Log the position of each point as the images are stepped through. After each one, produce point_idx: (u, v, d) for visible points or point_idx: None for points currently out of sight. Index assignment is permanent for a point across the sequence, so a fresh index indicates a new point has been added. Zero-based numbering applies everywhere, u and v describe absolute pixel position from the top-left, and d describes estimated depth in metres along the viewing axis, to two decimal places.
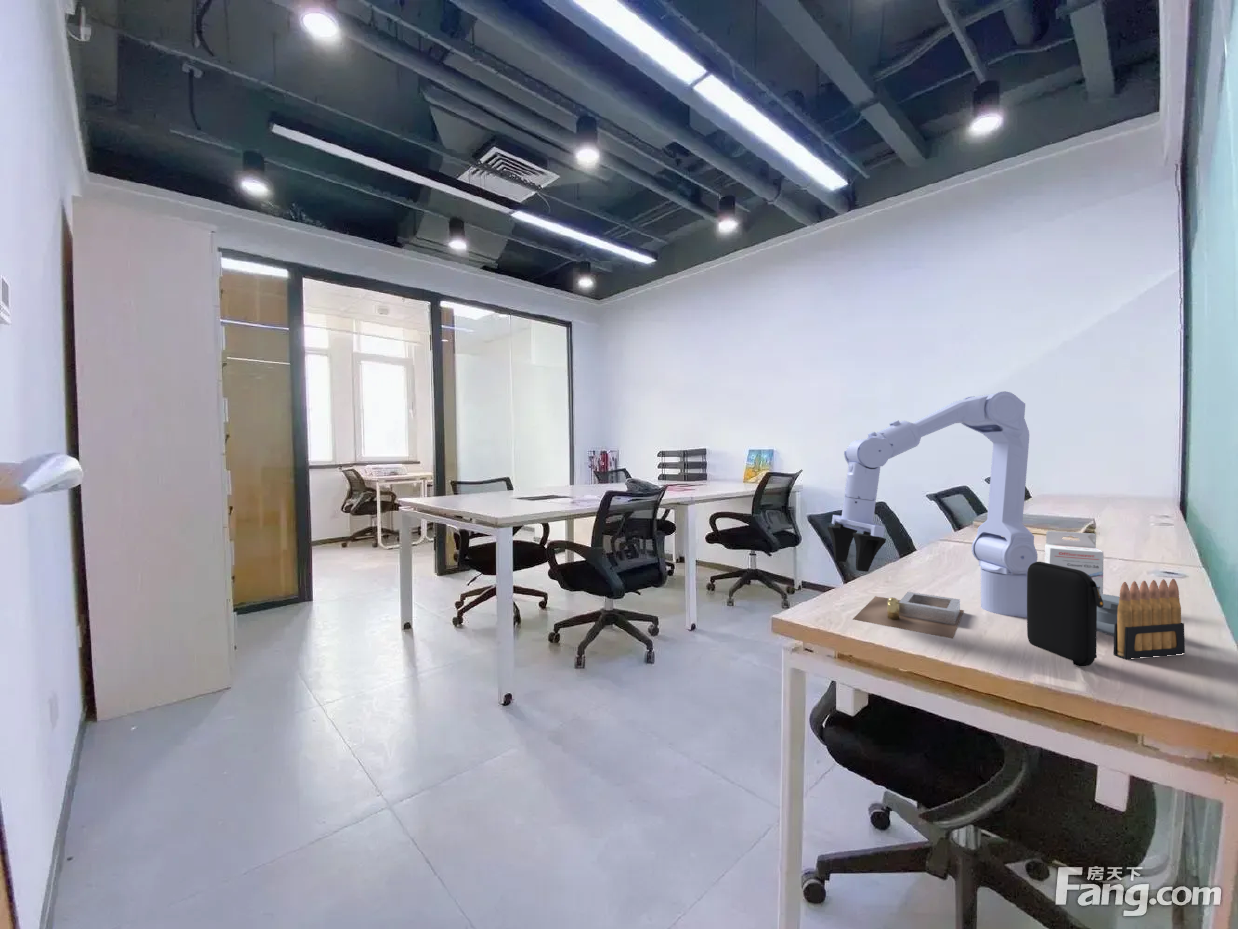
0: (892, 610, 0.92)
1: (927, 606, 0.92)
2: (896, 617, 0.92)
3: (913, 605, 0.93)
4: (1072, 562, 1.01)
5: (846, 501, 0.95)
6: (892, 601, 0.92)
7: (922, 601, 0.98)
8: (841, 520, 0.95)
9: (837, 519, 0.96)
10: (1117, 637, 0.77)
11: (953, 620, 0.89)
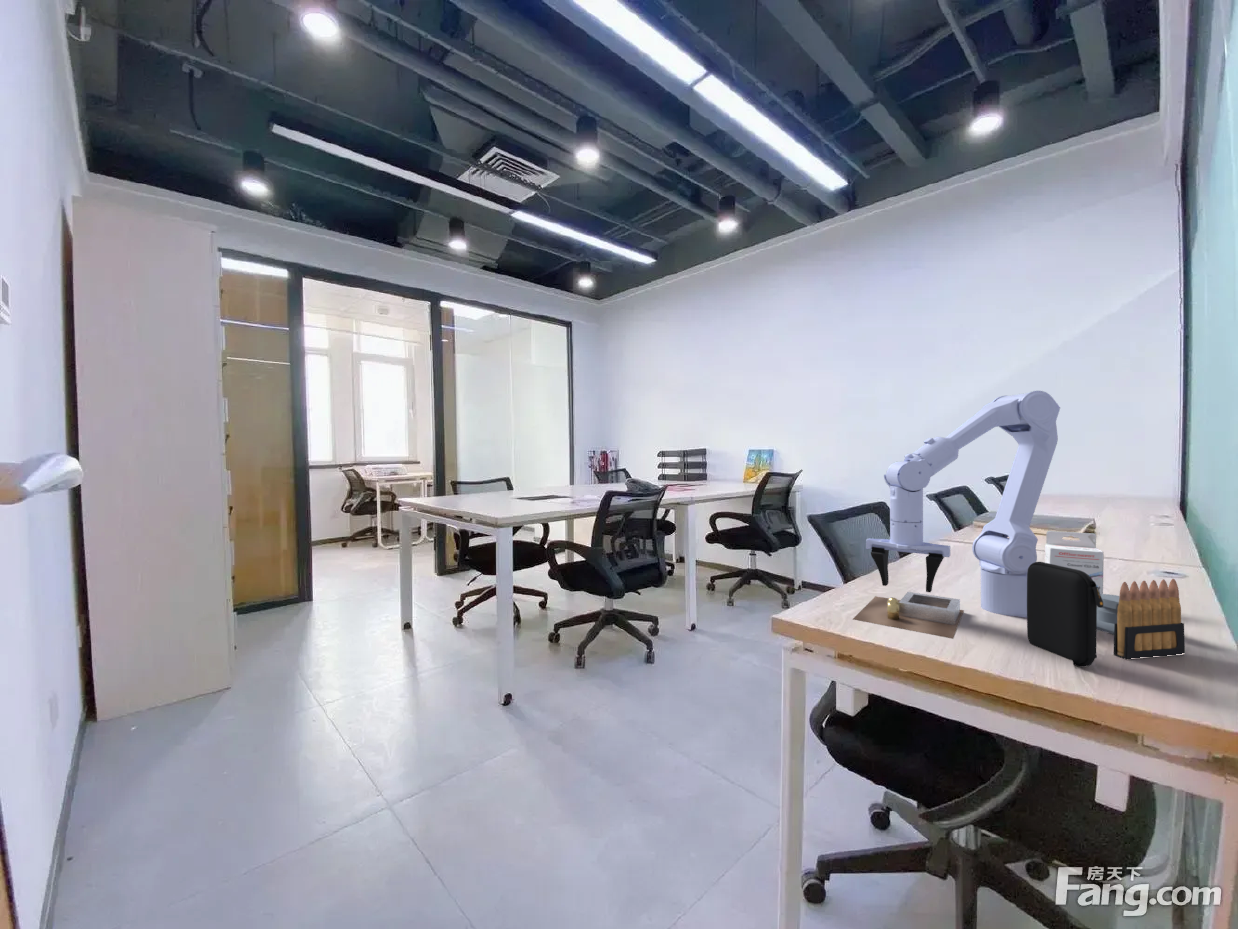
0: (892, 610, 0.92)
1: (927, 606, 0.92)
2: (896, 617, 0.92)
3: (913, 605, 0.93)
4: (1072, 562, 1.01)
5: (904, 527, 0.95)
6: (892, 601, 0.92)
7: (922, 601, 0.98)
8: (908, 547, 0.94)
9: (901, 546, 0.94)
10: (1117, 637, 0.77)
11: (953, 620, 0.89)
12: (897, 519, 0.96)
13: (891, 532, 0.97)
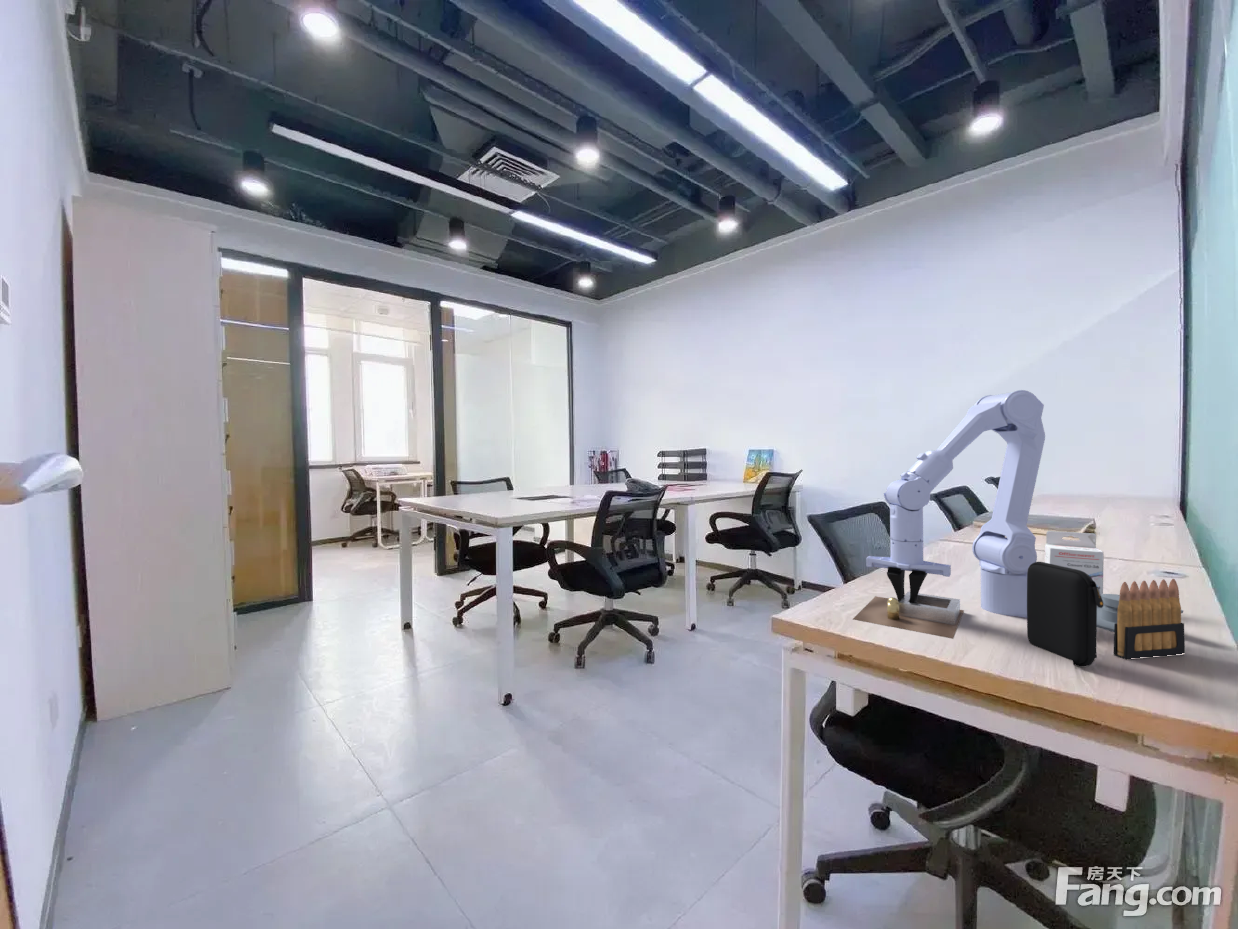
0: (892, 610, 0.92)
1: (927, 606, 0.92)
2: (896, 617, 0.92)
3: (913, 605, 0.93)
4: (1072, 562, 1.01)
5: (905, 546, 0.95)
6: (892, 601, 0.92)
7: (922, 601, 0.98)
8: (908, 566, 0.94)
9: (902, 566, 0.94)
10: (1117, 637, 0.77)
11: (953, 620, 0.89)
12: (897, 538, 0.96)
13: (891, 551, 0.97)
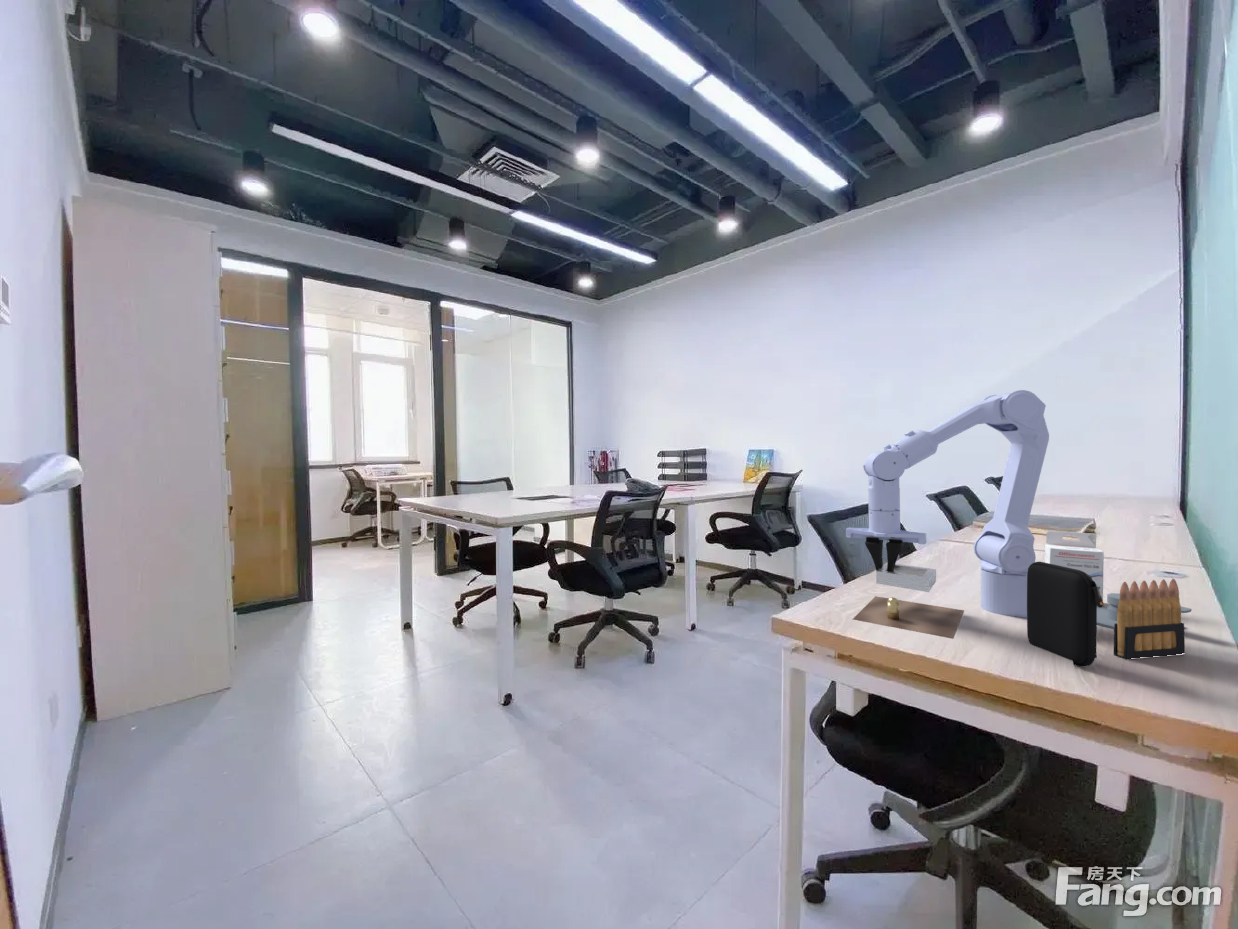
0: (892, 610, 0.92)
1: (903, 574, 0.94)
2: (896, 617, 0.92)
3: (890, 573, 0.95)
4: (1072, 562, 1.01)
5: (882, 515, 0.97)
6: (892, 601, 0.92)
7: (900, 571, 1.01)
8: (885, 535, 0.96)
9: (879, 534, 0.97)
10: (1117, 637, 0.77)
11: (927, 587, 0.91)
12: (873, 508, 0.98)
13: (869, 521, 1.00)
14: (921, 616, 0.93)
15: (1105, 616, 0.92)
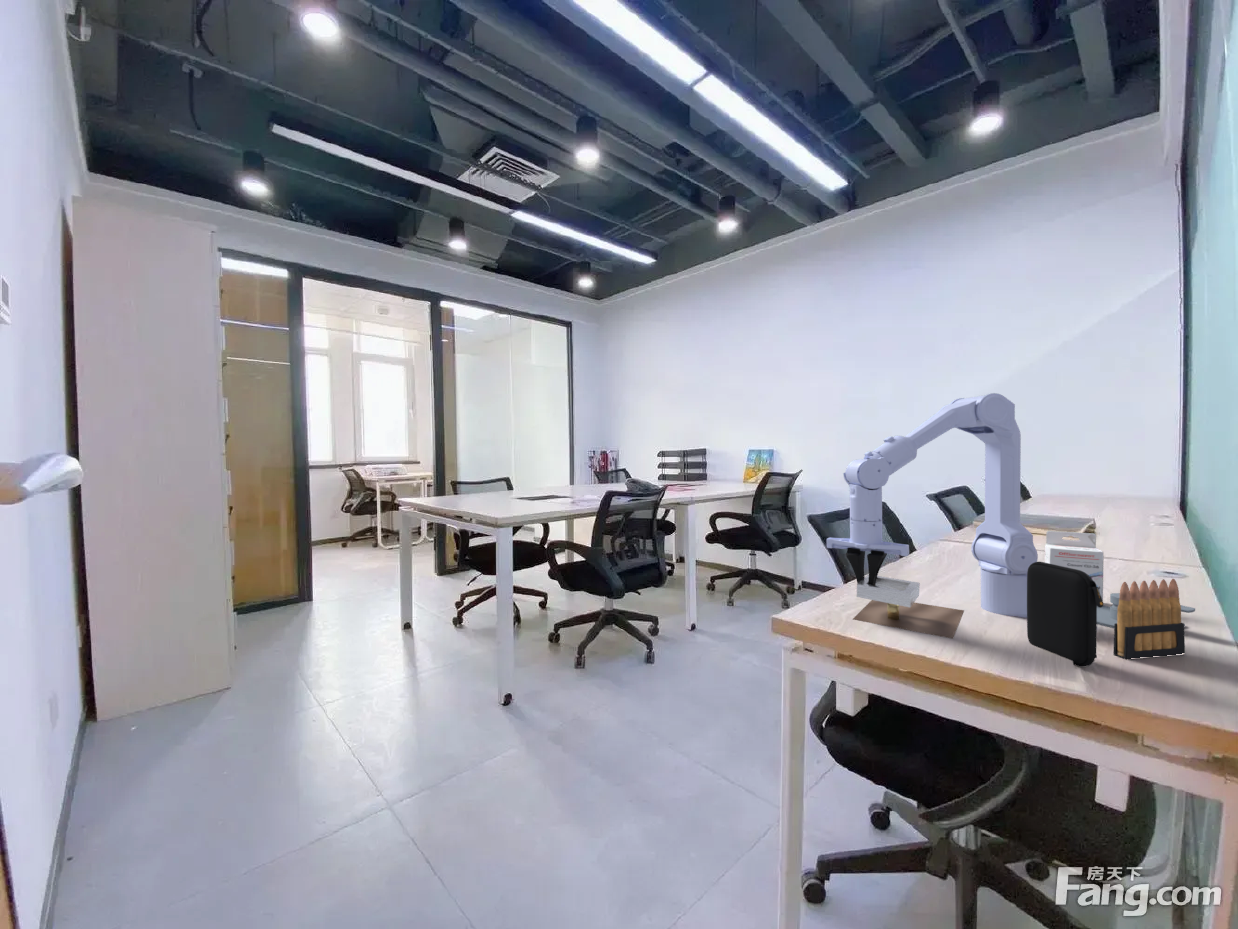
0: (892, 610, 0.92)
1: (884, 588, 0.90)
2: (896, 617, 0.92)
3: (871, 587, 0.91)
4: (1072, 562, 1.01)
5: (863, 525, 0.93)
6: None
7: (882, 584, 0.97)
8: (866, 546, 0.92)
9: (859, 546, 0.93)
10: (1117, 637, 0.77)
11: (909, 602, 0.87)
12: (857, 518, 0.94)
13: (850, 531, 0.96)
14: (921, 616, 0.93)
15: (1108, 616, 0.92)
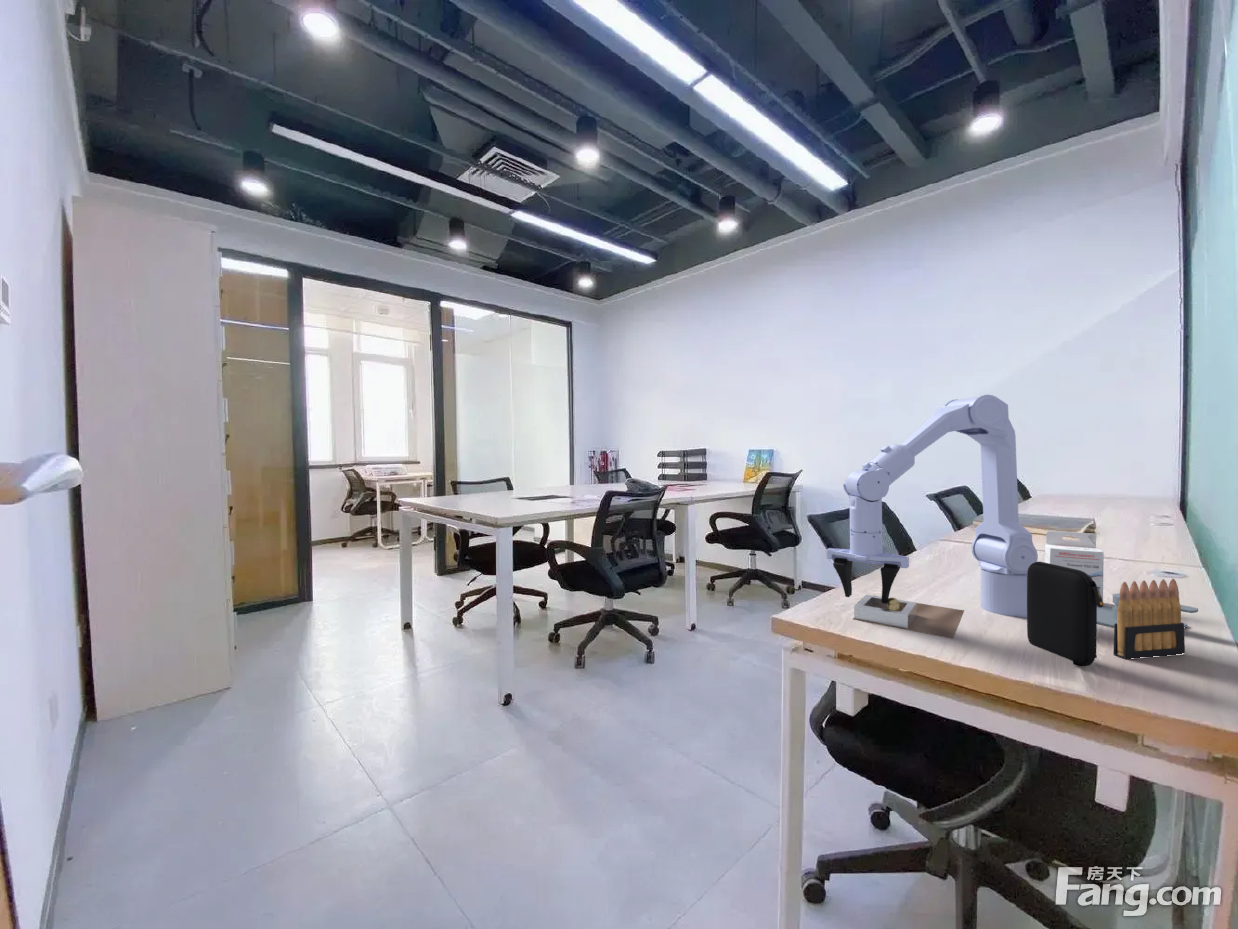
0: None
1: (881, 609, 0.91)
2: None
3: (868, 608, 0.92)
4: (1072, 562, 1.01)
5: (863, 537, 0.93)
6: (892, 601, 0.92)
7: (880, 604, 0.97)
8: (866, 558, 0.92)
9: (859, 557, 0.93)
10: (1117, 637, 0.77)
11: (906, 624, 0.87)
12: (857, 529, 0.94)
13: (850, 542, 0.96)
14: (921, 616, 0.93)
15: (1110, 616, 0.92)
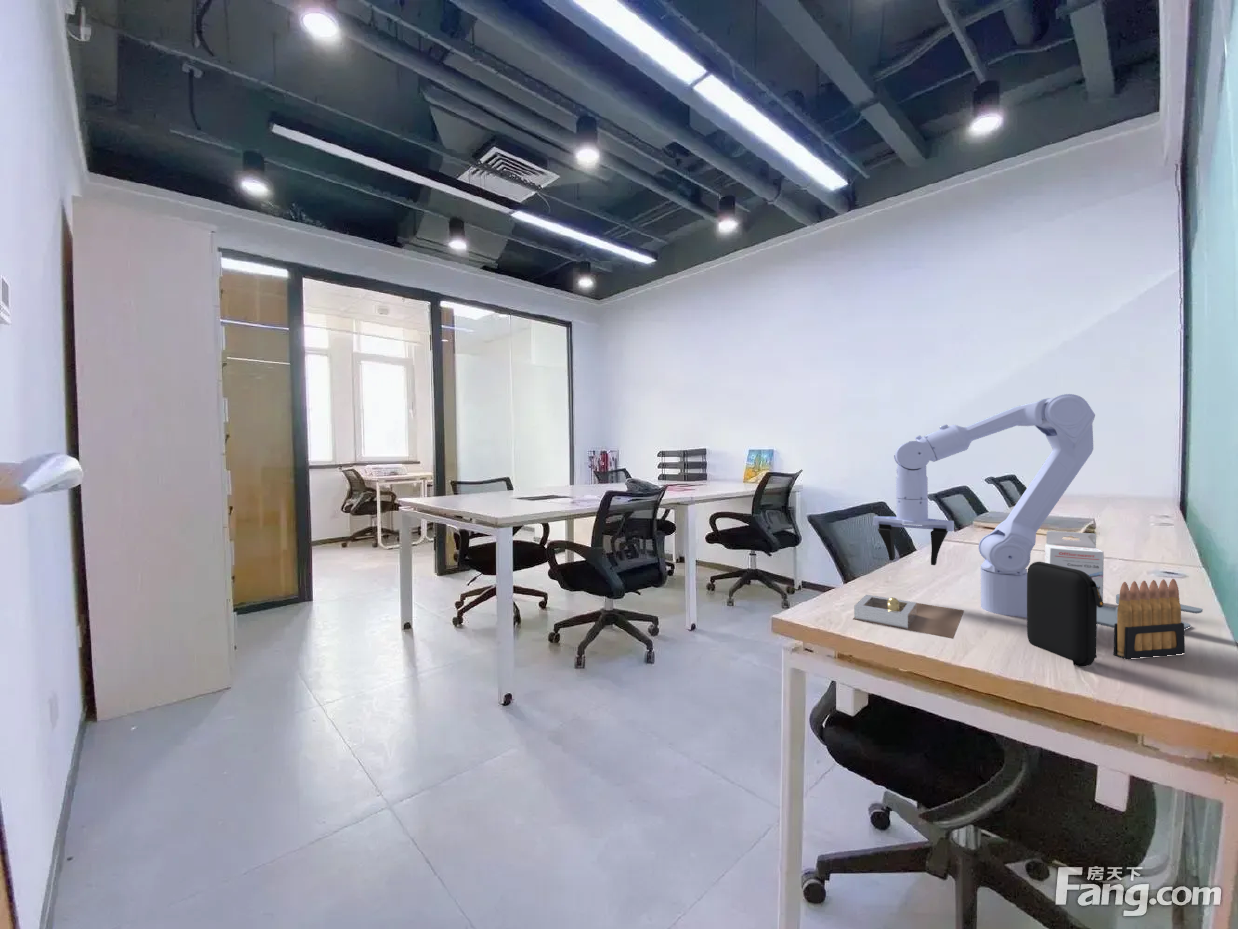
0: None
1: (881, 609, 0.91)
2: None
3: (868, 608, 0.92)
4: (1072, 562, 1.01)
5: (910, 503, 1.00)
6: (892, 601, 0.92)
7: (880, 604, 0.97)
8: (913, 522, 0.99)
9: (907, 522, 0.99)
10: (1117, 637, 0.77)
11: (906, 624, 0.87)
12: (899, 496, 1.02)
13: (897, 509, 1.03)
14: (921, 616, 0.93)
15: (1114, 617, 0.92)
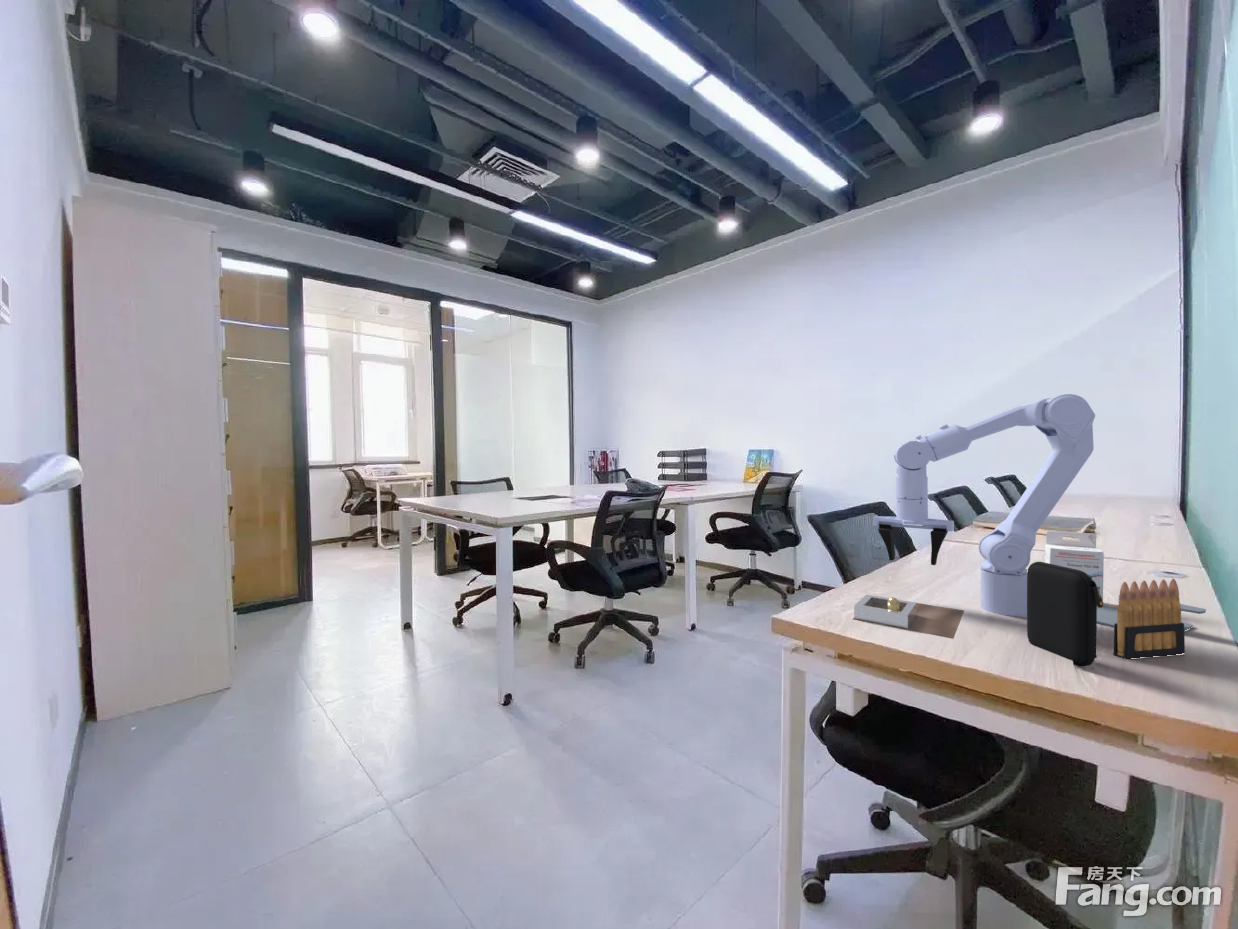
0: None
1: (881, 609, 0.91)
2: None
3: (868, 608, 0.92)
4: (1072, 562, 1.01)
5: (910, 503, 1.00)
6: (892, 601, 0.92)
7: (880, 604, 0.97)
8: (913, 522, 0.99)
9: (907, 522, 0.99)
10: (1117, 637, 0.77)
11: (906, 624, 0.87)
12: (899, 496, 1.02)
13: (897, 509, 1.03)
14: (921, 616, 0.93)
15: (1116, 617, 0.91)
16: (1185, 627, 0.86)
